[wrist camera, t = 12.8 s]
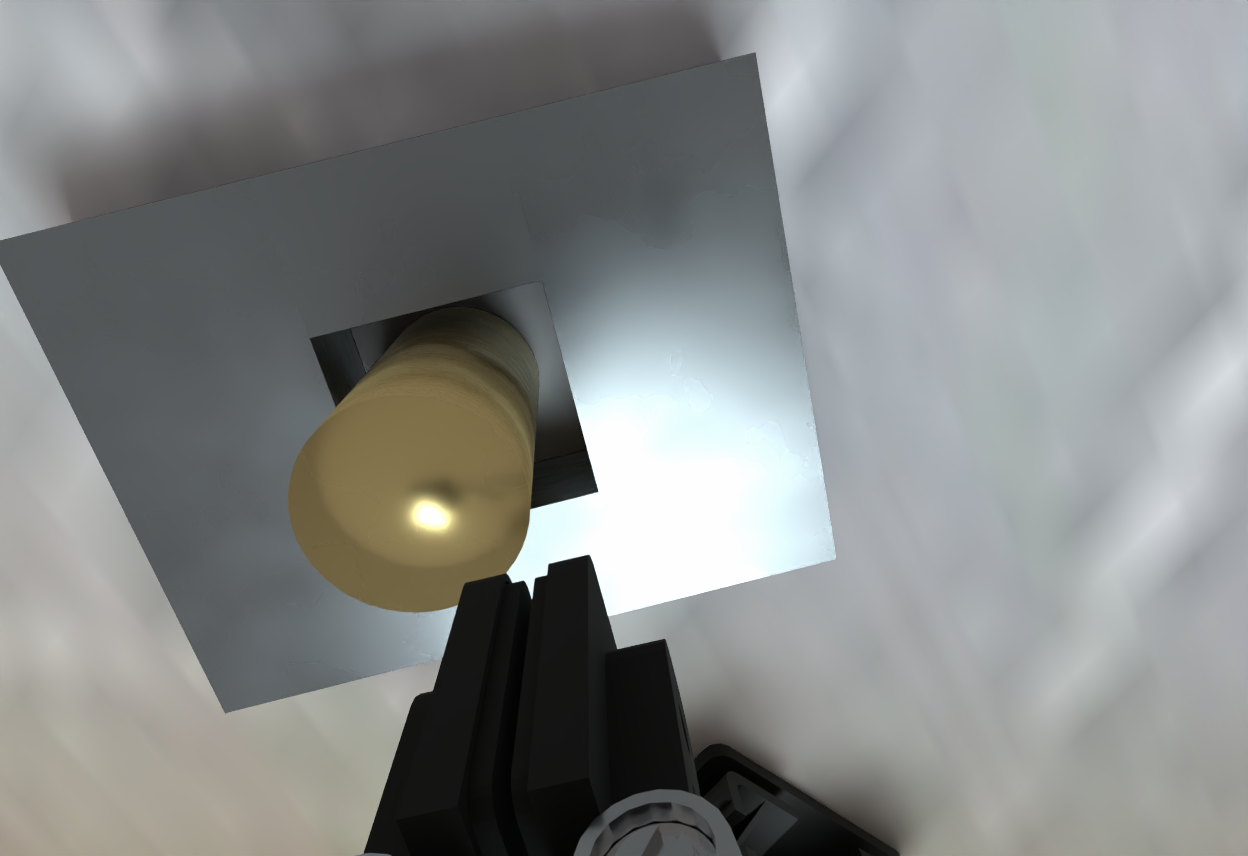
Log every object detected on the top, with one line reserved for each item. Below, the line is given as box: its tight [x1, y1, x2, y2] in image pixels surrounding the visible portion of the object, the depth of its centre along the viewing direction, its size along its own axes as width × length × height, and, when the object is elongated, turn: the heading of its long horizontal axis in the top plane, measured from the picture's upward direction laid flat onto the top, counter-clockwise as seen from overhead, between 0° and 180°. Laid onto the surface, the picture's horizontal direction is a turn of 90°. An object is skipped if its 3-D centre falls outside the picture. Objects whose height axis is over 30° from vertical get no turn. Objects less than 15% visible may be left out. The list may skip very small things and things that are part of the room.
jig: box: [0, 53, 836, 713], centre depth 19 cm, size 16×12×3 cm
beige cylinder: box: [288, 307, 539, 613], centre depth 17 cm, size 4×4×8 cm
